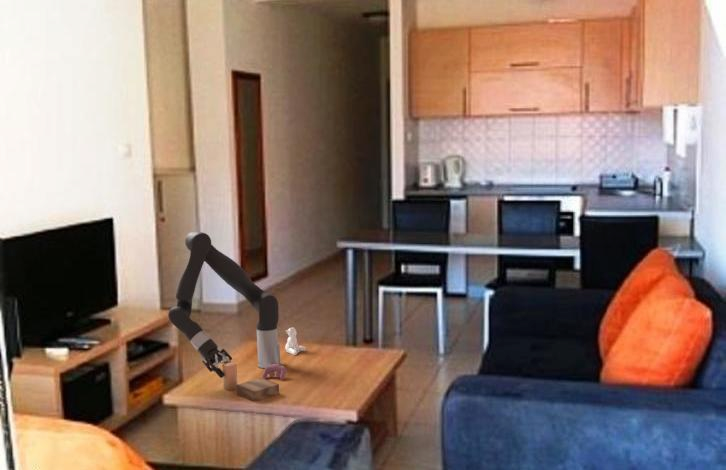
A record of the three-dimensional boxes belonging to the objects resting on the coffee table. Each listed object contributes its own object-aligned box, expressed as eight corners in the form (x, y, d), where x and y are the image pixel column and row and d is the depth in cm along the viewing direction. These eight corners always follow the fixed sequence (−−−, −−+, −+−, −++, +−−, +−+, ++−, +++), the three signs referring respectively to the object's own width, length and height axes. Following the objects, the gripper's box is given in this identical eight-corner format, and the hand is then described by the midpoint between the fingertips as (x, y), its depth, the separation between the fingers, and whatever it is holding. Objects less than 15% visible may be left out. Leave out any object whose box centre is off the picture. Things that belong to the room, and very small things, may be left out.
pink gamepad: (286, 381, 322) (288, 365, 324) (282, 380, 317) (284, 363, 320) (265, 380, 325) (267, 363, 327) (260, 378, 321) (263, 362, 323)
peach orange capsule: (234, 384, 315) (233, 361, 314) (240, 388, 310) (238, 364, 309) (221, 387, 312) (220, 364, 310) (226, 391, 307) (225, 367, 306)
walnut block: (261, 387, 311) (261, 377, 310) (279, 393, 302) (278, 384, 302) (237, 394, 303) (237, 384, 302) (254, 401, 294) (254, 391, 294)
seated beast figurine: (294, 356, 354) (294, 331, 352) (280, 353, 358) (279, 329, 357) (306, 350, 362) (305, 326, 360) (291, 348, 366) (291, 324, 365)
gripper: (199, 342, 305) (224, 373, 302) (218, 334, 318) (243, 362, 315) (188, 354, 308) (214, 384, 305) (208, 345, 321) (232, 373, 318)
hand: (228, 373), depth 310 cm, fingers open, 8 cm apart
